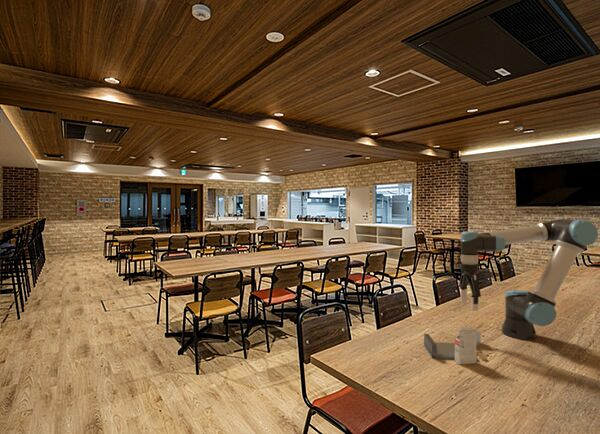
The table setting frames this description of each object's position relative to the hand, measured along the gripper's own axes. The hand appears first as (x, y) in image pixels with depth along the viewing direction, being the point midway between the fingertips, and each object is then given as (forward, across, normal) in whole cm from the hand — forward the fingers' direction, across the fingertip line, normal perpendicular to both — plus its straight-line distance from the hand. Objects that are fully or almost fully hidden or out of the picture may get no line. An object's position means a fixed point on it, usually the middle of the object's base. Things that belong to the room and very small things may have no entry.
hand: (469, 306), depth 163 cm
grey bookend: (+18, +12, -14) cm, 26 cm away
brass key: (+18, +15, -1) cm, 24 cm away
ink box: (+18, +22, -10) cm, 30 cm away
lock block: (+18, 0, 0) cm, 18 cm away
